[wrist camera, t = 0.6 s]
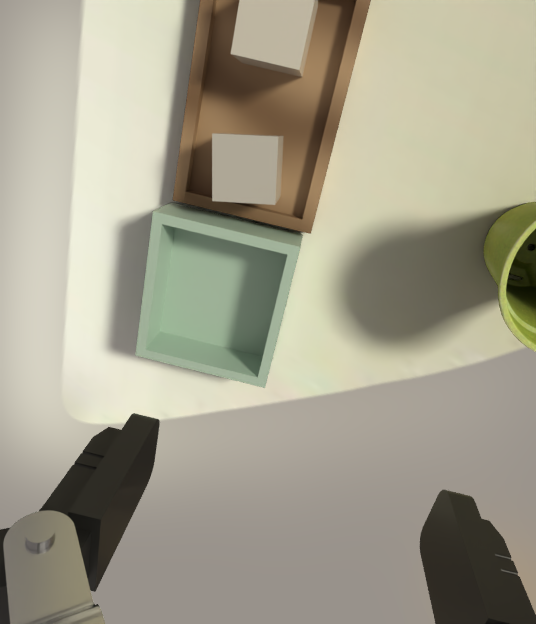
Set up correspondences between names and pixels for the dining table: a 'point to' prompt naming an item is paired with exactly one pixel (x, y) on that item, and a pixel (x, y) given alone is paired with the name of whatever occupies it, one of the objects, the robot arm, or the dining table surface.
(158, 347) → the bin
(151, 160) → the dining table surface
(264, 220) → the tray
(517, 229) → the plant pot
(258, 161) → the stone
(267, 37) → the stone
